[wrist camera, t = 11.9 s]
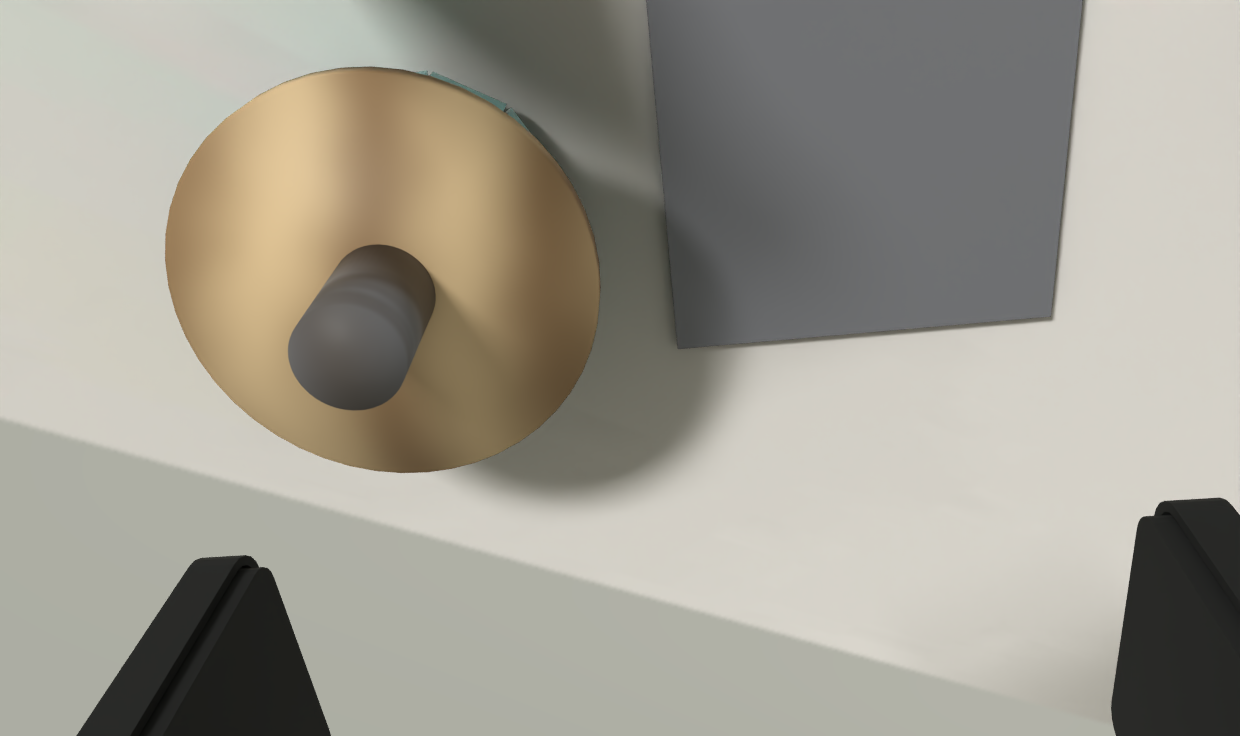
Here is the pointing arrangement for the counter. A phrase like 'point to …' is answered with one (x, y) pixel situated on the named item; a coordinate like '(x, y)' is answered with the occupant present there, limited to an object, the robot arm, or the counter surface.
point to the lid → (384, 270)
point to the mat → (860, 162)
